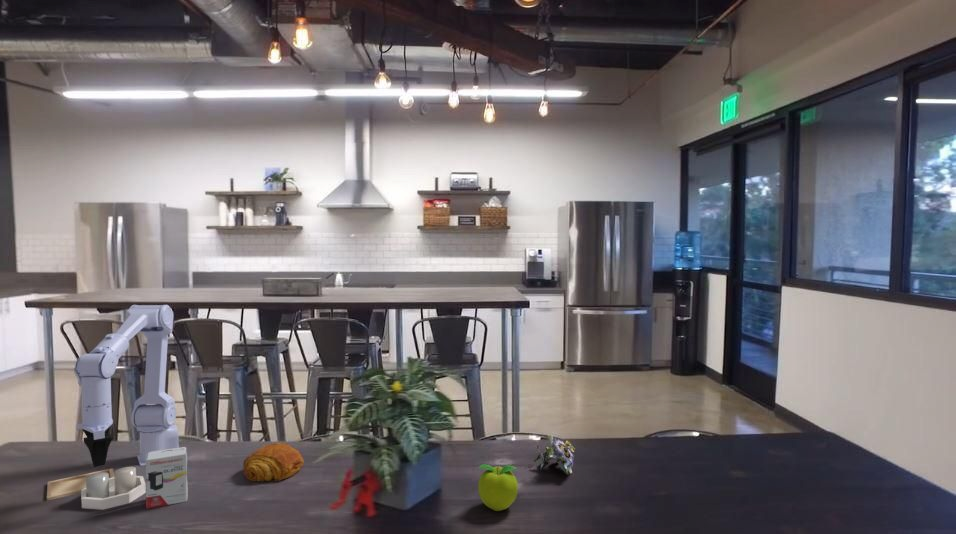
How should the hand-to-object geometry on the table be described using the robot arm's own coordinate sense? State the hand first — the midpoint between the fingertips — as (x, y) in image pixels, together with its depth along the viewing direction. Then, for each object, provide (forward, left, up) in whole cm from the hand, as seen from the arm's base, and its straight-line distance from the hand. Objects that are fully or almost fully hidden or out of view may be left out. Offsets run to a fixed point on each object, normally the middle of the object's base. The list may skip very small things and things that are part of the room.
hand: (98, 460), depth 128 cm
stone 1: (0, 0, -9) cm, 9 cm away
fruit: (-74, +60, -10) cm, 95 cm away
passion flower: (-99, +53, -10) cm, 113 cm away
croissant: (-38, +8, -10) cm, 41 cm away
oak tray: (+3, -12, -10) cm, 16 cm away
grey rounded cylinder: (-5, 0, -9) cm, 11 cm away
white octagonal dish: (-3, 0, -10) cm, 10 cm away
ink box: (-13, +10, -10) cm, 19 cm away
